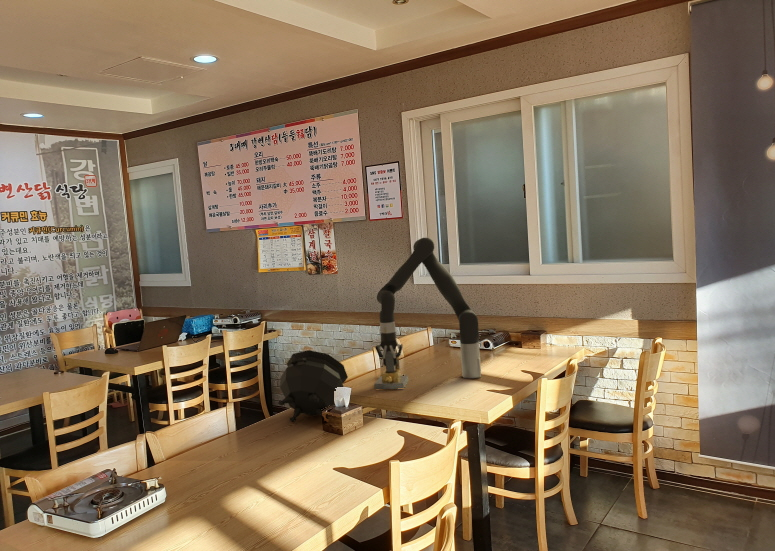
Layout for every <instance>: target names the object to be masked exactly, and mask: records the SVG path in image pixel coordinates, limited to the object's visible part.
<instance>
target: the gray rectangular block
mask: <svg viewBox="0 0 775 551" xmlns="http://www.w3.org/2000/svg"><path fill="white" fill-rule="evenodd" d="M385 361H386V366H385V370H386V373H395V366H394V357H393V354H392V352H386V354H385Z"/></svg>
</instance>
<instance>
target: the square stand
mask: <svg viewBox="0 0 775 551" xmlns="http://www.w3.org/2000/svg"><path fill="white" fill-rule="evenodd" d="M401 374H402V373H401V369H400V370H395V373H386V369H383V371H382V372H381V375H380V376H379V377H378V379H377V380H376V381H375V382H374V390H375V389H397V390H399V389H398V388H404V387H405V388H406V386H407V385H406V384H408V383H409V375H406V374H405V375H404V376H401ZM407 382H408V383H407ZM405 385H406V386H405ZM405 388H404V389H405Z"/></svg>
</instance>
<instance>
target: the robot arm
mask: <svg viewBox="0 0 775 551" xmlns="http://www.w3.org/2000/svg"><path fill="white" fill-rule="evenodd" d="M412 247H413V252H412V253H411V255H409V257H408V259H406V261H405V262H404V263H403V264H401V266H400V267H399V268H398V269H397V271H396V272H394V274H393V275H392V277H391V278H390V279H389V281H387V283H386V284H384V285H383V286H382V287H381V288H380V290H379V291H378V292H377V294H376V300H377V302H378V303H379V304H381V306H380V307H381V308H380V312H379V332H380V343H379V344H376V345H375V351H376V353H377V355H378V357H379V358H382V364H383V366H385V367H386V361H385V354H386V352H392V354H393V357H394V366H396V364H397V357H398V358H400V357H401V355H402V350H403V348H404V347H403V346H404V345H403V344H400V343H398V340H397V332H396V322H395V306H396V305H395V304H396V299H395V294H396V293H397V292H399V291H400V290H402V288H403V287H404V286H405V285H406V283H407V282H408V280H410V278H411V277H412V276H413V274H414V272H415V271H416V270H417V269H418V268H419V266H420V265H421V264H423V266H424V267H425V269H426V271H427V272H428V274H429V276H430V278H431V280H432V281H433V283H434V284H435V286H436V288H437V289H438V291H439V293H440V295H441V296H443V298H444V299H445V300H446V302H447V303H448V304H449V305H450V306H451V308H452V310H453V312H454V313H455V315H456V318H457V320H458V325H459V347H460V359H461V360H460V361H461V374H462V377H463V378H464V379H478V378H481V376H482V367H481V366H482V365H481V356H480V355H481V354H480V342H479V341H480V338H479V337H480V331H479V330H480V329H479V318H478V315H477V314H476V313H475V312H474V310H473V309H472V308H471V307H470V305H468V302H466V300H465V298H464V296H463V294H462V291H461V290H460V288H459V286H458V284H457V282H456V280H455V278H454V277H453V275H452V274H451V272H450V271H449V270H448V269H447V268H446V267H445V266H444V265H443V264H442V263H441V262H440V261H439V260H438V257H437V256H436V255H435V252H434V251H435V242H434V241H433V239H431V238H429V237H421V238H419V239H417V240H416V241H415V242H414V244H413V246H412ZM396 348H397V349H398V352H397V351H396ZM381 349H382V350H383V353H382V350H381ZM396 352H397V353H398V354H397V355H396Z"/></svg>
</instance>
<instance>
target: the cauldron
mask: <svg viewBox="0 0 775 551" xmlns="http://www.w3.org/2000/svg"><path fill="white" fill-rule="evenodd" d="M286 365H287V367H286V368H285V370H284V371H283V373H282V375H281V376H280V382H279V388H280V391H281V393H282V395H283V397H284V398H283V399H282V400H278V401H277V402H278V403H277V404H278V405H280V406H284V405H286V404H288V406H289V407H290V408H291V409H293V410H294V411H293V412H292V413H293V414H292V416H290V417H288V418H289V419H288V420H289V421H290V422H291V423H294V422H296V421H297V418H298V417H299V416H300V415H301V414H303V415H307V416H311V417H314V416H318V415H319V416H321V417H322V411H323V410H324V409H326V408H325V407H327V408H328V406H329V405H330V406H333V405H334V391H336V389H335V388H337V387H344V384H345V383H346V381H347V380H348V378H349V376H348V373H347V371H346V368H345V365H344V364H343V363H341V362H340V361H339V360H337V359H336V358H334V357H333V356H331V355H330V354H328V353H325V352H319V351H315V350H310V349H307V350H304V351H300V352H296V353H292V354H291V356H290V358H289V359H288V361H287V363H286ZM344 388H345V387H344ZM330 406H329V407H330ZM323 408H324V409H323ZM321 409H323V410H321Z"/></svg>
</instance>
